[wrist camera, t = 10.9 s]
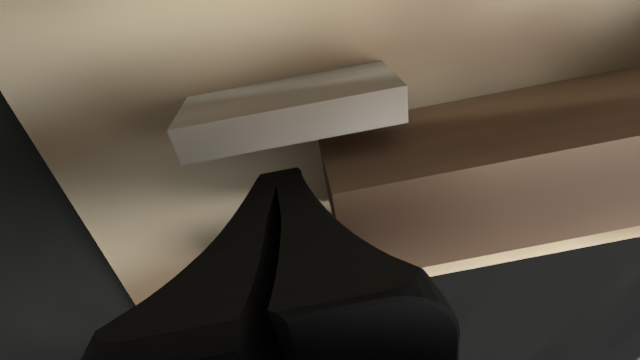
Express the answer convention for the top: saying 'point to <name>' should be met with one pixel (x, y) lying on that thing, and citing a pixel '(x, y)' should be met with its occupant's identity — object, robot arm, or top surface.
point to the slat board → (263, 98)
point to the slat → (493, 171)
